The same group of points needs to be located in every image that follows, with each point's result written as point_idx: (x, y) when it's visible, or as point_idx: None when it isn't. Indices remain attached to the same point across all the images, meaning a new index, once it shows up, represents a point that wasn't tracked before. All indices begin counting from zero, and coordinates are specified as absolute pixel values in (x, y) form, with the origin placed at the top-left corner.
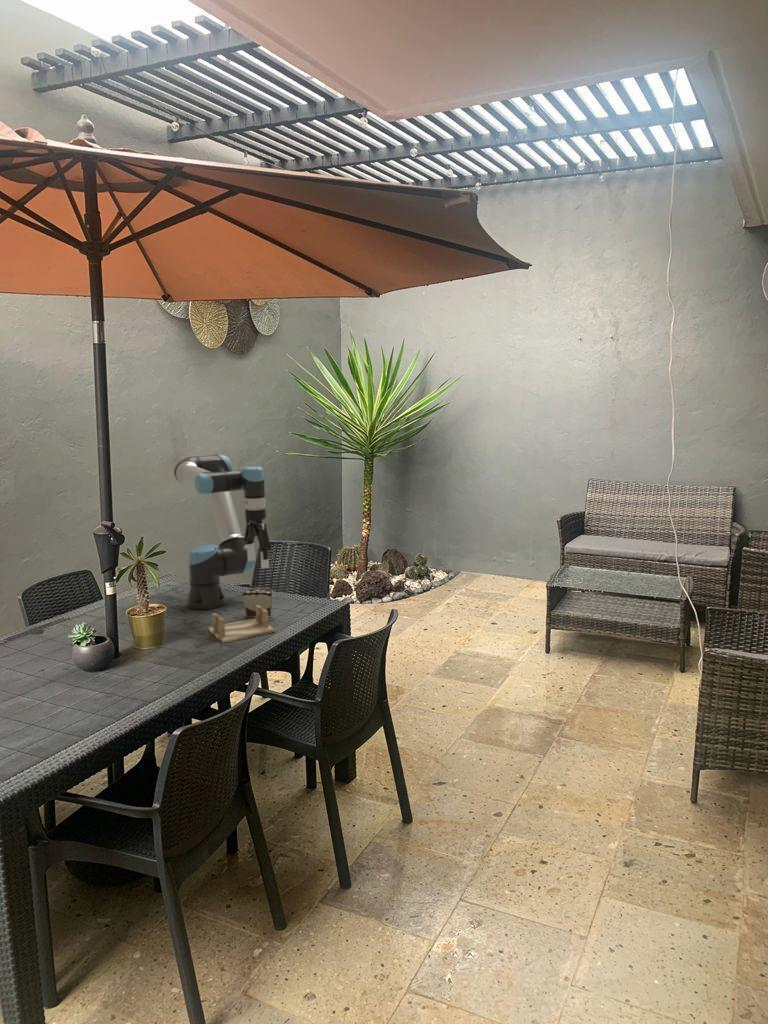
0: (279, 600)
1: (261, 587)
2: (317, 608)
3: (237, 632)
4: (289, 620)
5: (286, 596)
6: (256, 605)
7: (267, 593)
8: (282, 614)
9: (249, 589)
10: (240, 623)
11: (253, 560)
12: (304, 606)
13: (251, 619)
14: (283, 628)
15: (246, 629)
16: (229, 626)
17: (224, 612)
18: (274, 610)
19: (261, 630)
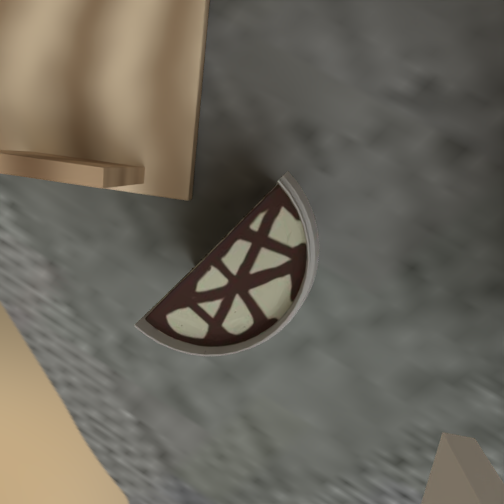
0: (389, 430)
1: (271, 333)
2: (171, 463)
3: (45, 4)
4: (104, 300)
5: (418, 484)
6: (99, 172)
7: (165, 304)
8: None
9: (307, 255)
10: (160, 85)
11: (422, 499)
12: (229, 447)
13: (182, 162)
14: (27, 226)
15: (62, 65)
16: (153, 13)
17: (431, 130)
18: None
19: (11, 117)
